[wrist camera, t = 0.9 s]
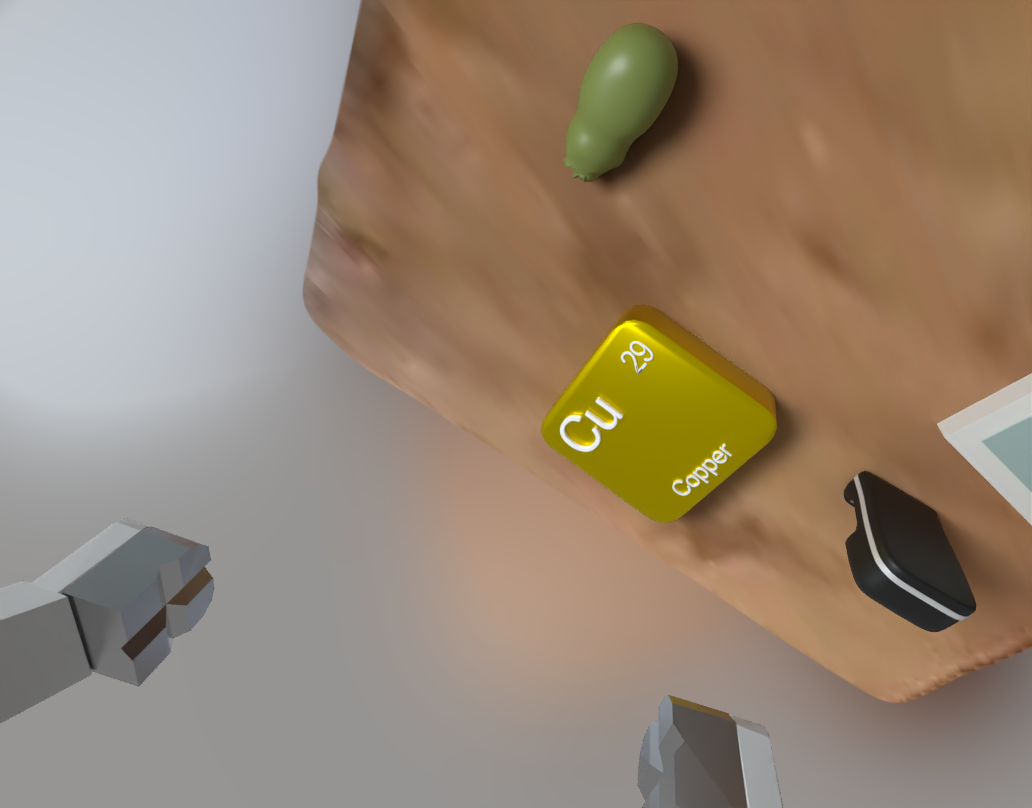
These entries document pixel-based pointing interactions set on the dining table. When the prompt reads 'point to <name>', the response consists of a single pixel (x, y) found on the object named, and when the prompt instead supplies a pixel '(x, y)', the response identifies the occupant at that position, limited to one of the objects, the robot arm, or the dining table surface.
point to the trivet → (999, 441)
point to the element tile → (659, 415)
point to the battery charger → (905, 556)
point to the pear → (619, 98)
